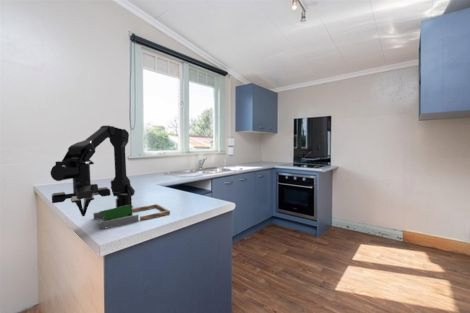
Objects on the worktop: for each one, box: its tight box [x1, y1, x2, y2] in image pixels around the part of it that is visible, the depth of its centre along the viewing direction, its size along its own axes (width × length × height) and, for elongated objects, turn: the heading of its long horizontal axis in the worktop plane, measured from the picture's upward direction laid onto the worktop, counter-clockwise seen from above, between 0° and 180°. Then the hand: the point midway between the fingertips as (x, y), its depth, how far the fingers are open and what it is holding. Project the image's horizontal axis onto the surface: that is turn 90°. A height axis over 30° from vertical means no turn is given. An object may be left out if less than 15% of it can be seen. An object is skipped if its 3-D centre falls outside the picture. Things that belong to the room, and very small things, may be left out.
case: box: [92, 211, 140, 229], centre depth 96 cm, size 14×16×2 cm
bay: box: [132, 203, 171, 221], centre depth 106 cm, size 13×16×2 cm
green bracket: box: [99, 205, 134, 221], centre depth 96 cm, size 12×6×9 cm, turn 140°
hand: (83, 216), depth 89 cm, fingers closed
